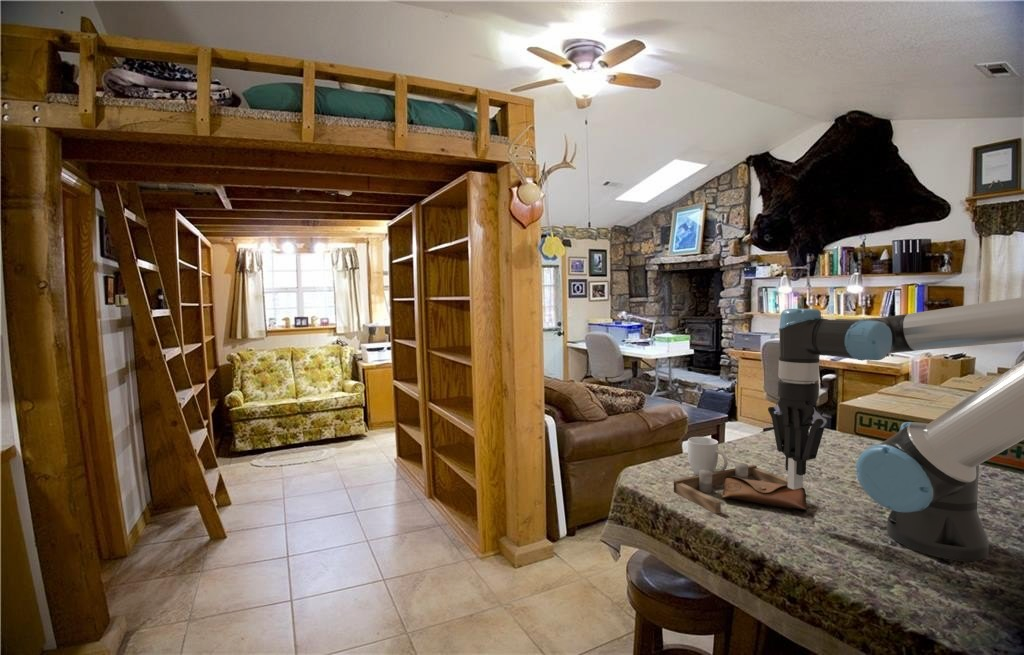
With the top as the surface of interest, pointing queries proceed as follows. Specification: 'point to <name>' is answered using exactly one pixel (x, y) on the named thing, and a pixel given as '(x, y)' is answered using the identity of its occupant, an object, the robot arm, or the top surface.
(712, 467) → the mug
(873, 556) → the top surface
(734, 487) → the sunglasses case
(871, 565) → the top surface
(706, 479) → the rail board
